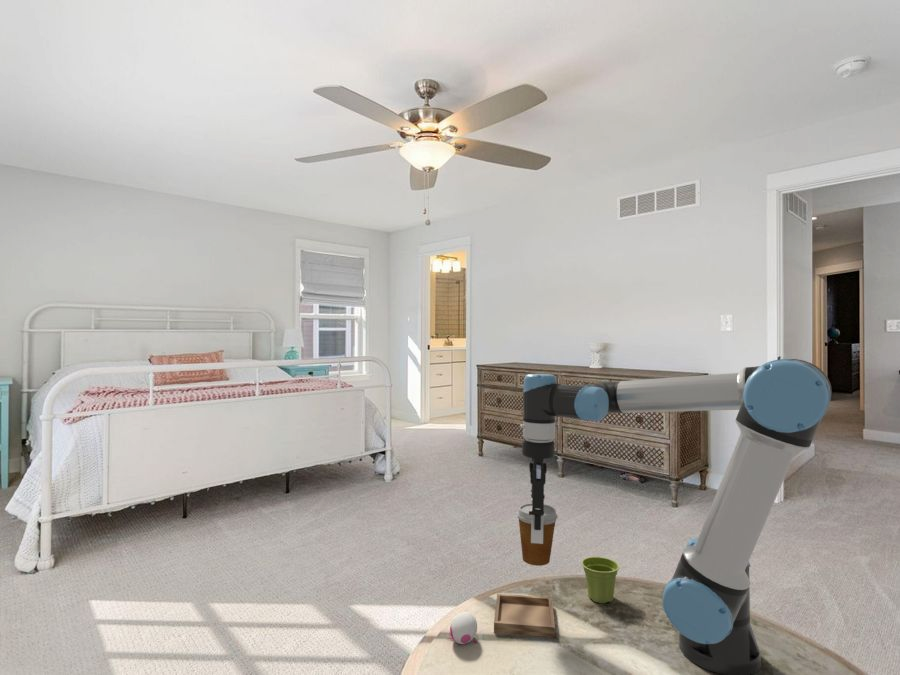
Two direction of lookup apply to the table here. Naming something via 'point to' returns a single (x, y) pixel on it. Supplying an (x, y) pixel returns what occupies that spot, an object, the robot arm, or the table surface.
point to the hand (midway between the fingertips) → (536, 534)
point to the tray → (524, 615)
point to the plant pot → (600, 578)
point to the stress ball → (463, 628)
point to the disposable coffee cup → (530, 551)
